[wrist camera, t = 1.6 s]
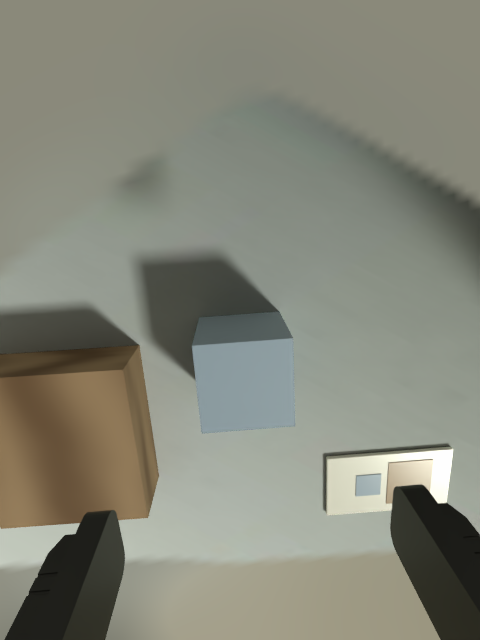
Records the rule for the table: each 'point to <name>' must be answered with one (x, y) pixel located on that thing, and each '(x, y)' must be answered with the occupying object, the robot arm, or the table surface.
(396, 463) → the page
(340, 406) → the table surface
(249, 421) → the top brick
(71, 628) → the robot arm
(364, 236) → the table surface
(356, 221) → the table surface
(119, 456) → the base brick
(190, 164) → the table surface
